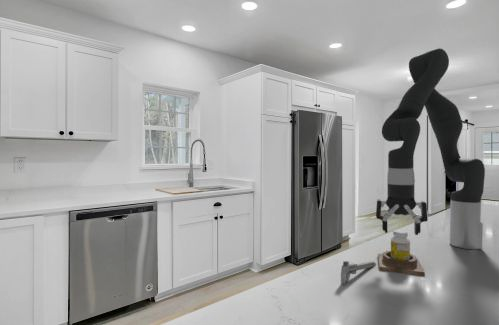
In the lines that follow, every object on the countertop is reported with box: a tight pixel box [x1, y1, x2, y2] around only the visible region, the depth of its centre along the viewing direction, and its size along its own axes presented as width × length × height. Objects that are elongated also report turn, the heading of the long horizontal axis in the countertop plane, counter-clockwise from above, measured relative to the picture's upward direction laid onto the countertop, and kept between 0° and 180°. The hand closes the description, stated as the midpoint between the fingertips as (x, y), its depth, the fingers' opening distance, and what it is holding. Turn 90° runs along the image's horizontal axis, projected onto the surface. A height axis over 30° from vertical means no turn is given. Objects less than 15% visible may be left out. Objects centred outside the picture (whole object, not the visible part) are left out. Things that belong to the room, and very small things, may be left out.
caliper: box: [340, 260, 377, 286], centre depth 86 cm, size 21×1×6 cm, turn 134°
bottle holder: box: [377, 250, 426, 277], centre depth 92 cm, size 12×12×3 cm
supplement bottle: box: [390, 229, 411, 261], centre depth 91 cm, size 5×5×10 cm
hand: (400, 233), depth 91 cm, fingers open, 8 cm apart
